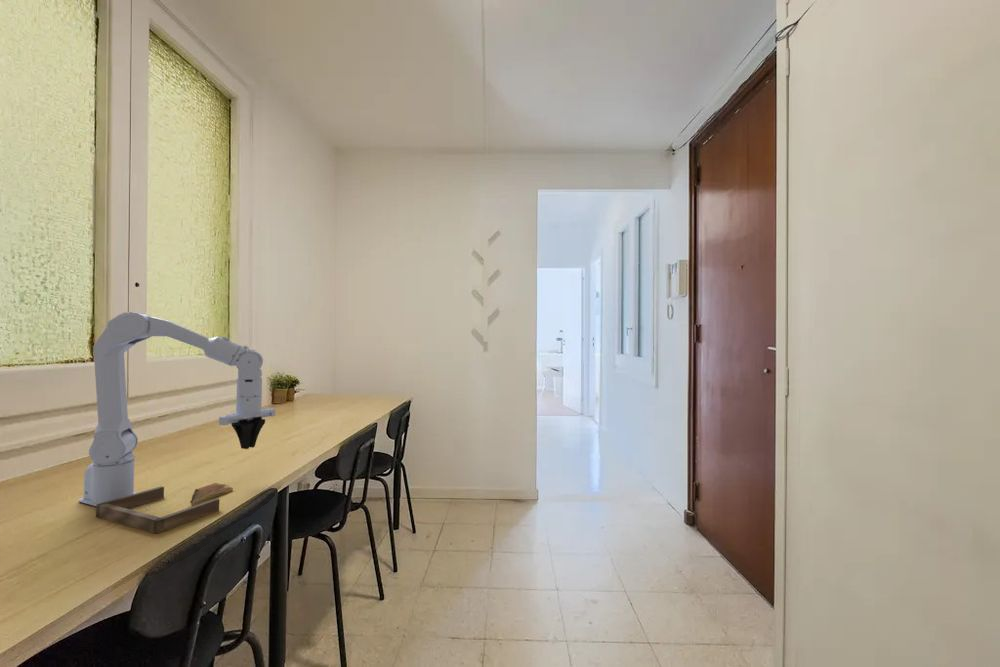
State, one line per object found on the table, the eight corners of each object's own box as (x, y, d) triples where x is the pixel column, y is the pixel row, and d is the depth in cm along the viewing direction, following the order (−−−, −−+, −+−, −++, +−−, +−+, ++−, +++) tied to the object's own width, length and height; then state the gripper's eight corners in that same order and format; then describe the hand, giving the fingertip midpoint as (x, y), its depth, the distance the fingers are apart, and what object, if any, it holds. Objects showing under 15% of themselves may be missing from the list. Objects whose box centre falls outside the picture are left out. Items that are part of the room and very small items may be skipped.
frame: (96, 516, 88) (96, 504, 88) (160, 496, 100) (160, 486, 100) (156, 533, 81) (157, 520, 81) (219, 510, 92) (219, 499, 92)
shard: (190, 509, 94) (190, 500, 94) (166, 504, 96) (166, 496, 96) (234, 492, 104) (234, 485, 104) (211, 489, 107) (211, 481, 107)
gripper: (233, 400, 102) (232, 456, 101) (283, 393, 115) (282, 443, 115) (213, 398, 104) (212, 453, 104) (265, 392, 118) (264, 440, 118)
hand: (247, 447), depth 110 cm, fingers closed
